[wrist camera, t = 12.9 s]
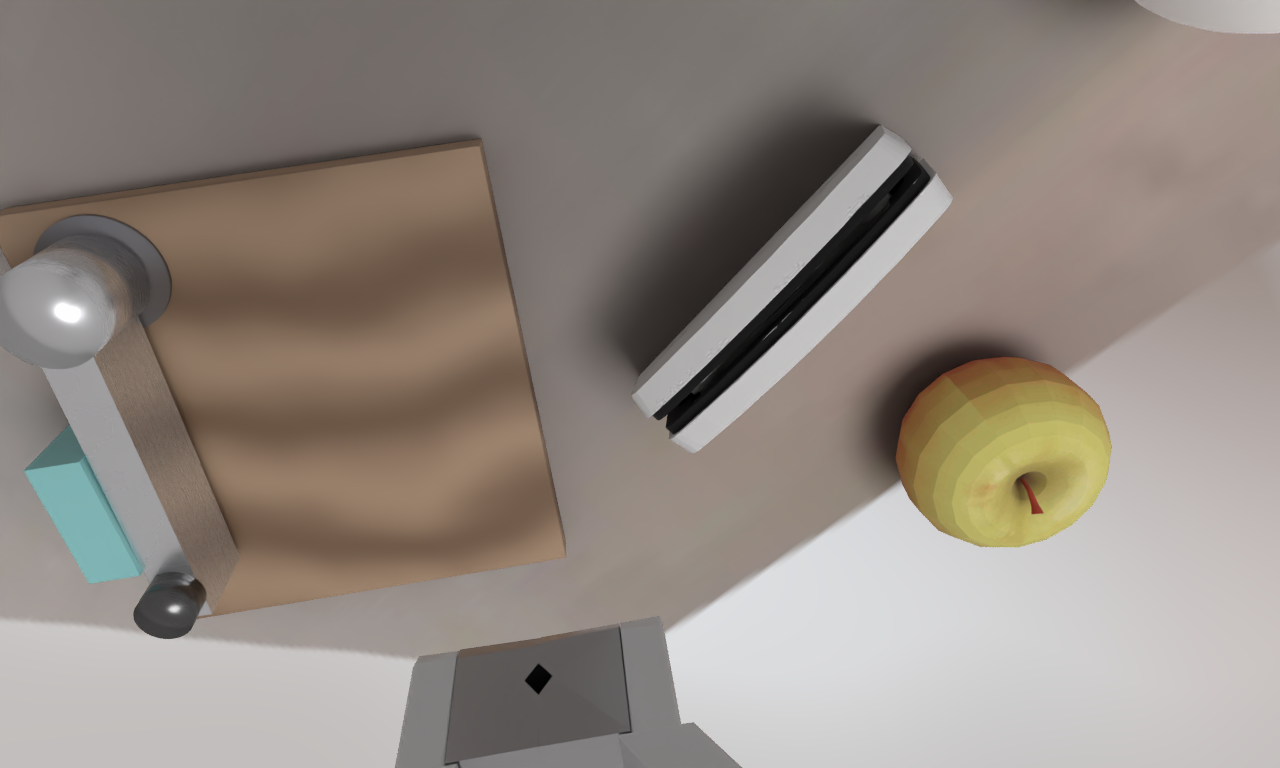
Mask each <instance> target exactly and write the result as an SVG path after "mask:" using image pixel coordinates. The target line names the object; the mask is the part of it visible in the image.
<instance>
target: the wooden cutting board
mask: <svg viewBox="0 0 1280 768" xmlns="http://www.w3.org/2000/svg"><path fill="white" fill-rule="evenodd" d="M76 234H93V235H99V236H102V237H106V238H108V239H111V240H113V241H115V242H117V243H119V244H120V245H122V246H123V247H125V248H126V249H127V250H129V251H130V252H131V253H132V254H133V255H134V256H135V257H136V258H137V259H138V261H139V262H140V263H141V265H142V266H143V268H144V270H145V272H146V274H147V277H148V280H149V284H150V296H149V300H148V303H147V305H146V307H145V309H144V310H143V311H142V313H141V314H139V315H138V316H139V319H140V321H141V323H142V326H143V328H144V330H145V333H146V335H147V338H148V340H149V342H150V345H151V347H152V349H153V352H154V354H155V357H156V359H157V361H158V364H159V366H160V368H161V371H162V373H163V376H164V378H165V380H166V383H167V385H168V387H169V390H170V392H171V395H172V397H173V399H174V402H175V404H176V406H177V409H178V411H179V414H180V416H181V418H182V421H183V423H184V425H185V428H186V430H187V433H188V435H189V437H190V440H191V442H192V444H193V447H194V449H195V452H196V454H197V456H198V459H199V461H200V463H201V466H202V468H203V471H204V473H205V475H206V478H207V480H208V482H209V485H210V487H211V490H212V492H213V494H214V497H215V499H216V501H217V504H218V506H219V509H220V511H221V513H222V516H223V518H224V520H225V523H226V525H227V528H228V530H229V532H230V535H231V537H232V539H233V542H234V544H235V547H236V549H237V551H238V554H239V556H240V559H239V561H238V563H237V565H236V567H235V569H234V571H233V573H232V575H231V577H230V579H229V581H228V583H227V585H226V587H225V589H224V591H223V593H222V595H221V597H220V599H219V601H218V603H217V605H216V607H215V609H214V611H213V613H212V614H210V615H203V616H198V617H197V619H199V618H205V617H211V616H217V615H223V614H229V613H235V612H241V611H247V610H253V609H259V608H265V607H271V606H277V605H283V604H289V603H295V602H301V601H307V600H313V599H319V598H325V597H331V596H337V595H343V594H349V593H356V592H362V591H368V590H374V589H380V588H386V587H392V586H398V585H404V584H410V583H416V582H422V581H428V580H434V579H440V578H446V577H452V576H458V575H464V574H470V573H476V572H482V571H488V570H494V569H500V568H506V567H513V566H519V565H525V564H531V563H537V562H543V561H549V560H555V559H561V558H566V542H565V536H564V531H563V526H562V521H561V517H560V512H559V507H558V502H557V497H556V493H555V488H554V483H553V478H552V474H551V469H550V464H549V459H548V454H547V450H546V445H545V440H544V435H543V431H542V426H541V421H540V416H539V411H538V407H537V402H536V397H535V392H534V387H533V383H532V378H531V373H530V368H529V364H528V359H527V354H526V349H525V344H524V340H523V335H522V330H521V325H520V321H519V316H518V311H517V306H516V301H515V297H514V292H513V287H512V282H511V278H510V273H509V268H508V263H507V258H506V254H505V249H504V244H503V239H502V234H501V230H500V225H499V220H498V215H497V211H496V206H495V201H494V196H493V191H492V187H491V182H490V177H489V172H488V168H487V163H486V158H485V153H484V148H483V144H482V139H475V140H469V141H462V142H455V143H448V144H441V145H434V146H427V147H421V148H414V149H407V150H400V151H393V152H386V153H380V154H373V155H366V156H359V157H352V158H345V159H338V160H332V161H325V162H318V163H311V164H304V165H297V166H291V167H284V168H277V169H270V170H263V171H256V172H249V173H243V174H236V175H229V176H222V177H215V178H208V179H202V180H195V181H188V182H181V183H174V184H167V185H160V186H154V187H147V188H140V189H133V190H126V191H119V192H113V193H106V194H99V195H92V196H85V197H78V198H71V199H65V200H58V201H51V202H44V203H37V204H30V205H24V206H17V207H10V208H6V209H4V210H2V211H0V247H1V249H2V251H3V253H4V255H5V257H6V259H7V261H8V263H9V264H10V266H11V268H12V269H13V268H14V267H16V266H18V265H19V264H21V263H23V262H24V261H26V260H28V259H29V258H31V257H33V256H34V255H36V254H37V253H39V252H41V251H42V250H44V249H46V248H47V247H49V246H51V245H52V244H54V243H56V242H57V241H59V240H61V239H63V238H65V237H68V236H71V235H76Z"/></svg>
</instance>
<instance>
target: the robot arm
mask: <svg viewBox="0 0 1280 768" xmlns="http://www.w3.org/2000/svg"><path fill="white" fill-rule="evenodd" d="M395 768H742V767H741V766H739V764H737V763H736V762H735V761H734V760H733V759H732V758H731V757H730V756H729V755H728V754H727V753H726V752H725V751H724V750H723V749H721V748H720V747H719V746H718V745H717V744H716V743H715V742H714V741H713V740H712V739H711V738H710V737H709V736H707V735H706V734H705V733H704V732H703V731H702V730H701V729H700V728H699V727H698V726H697V725H696V724H694V723H686V724H681V721H680V716H679V710H678V705H677V700H676V694H675V688H674V683H673V677H672V672H671V666H670V661H669V655H668V650H667V644H666V639H665V633H664V628H663V622H662V620H661V618H660V617H659V616H656V617H651V618H645V619H640V620H634V621H629V622H623V623H620V625H619V624H613V625H608V626H602V627H597V628H591V629H586V630H580V631H574V632H569V633H563V634H558V635H552V636H547V637H541V638H538V639H531V640H524V641H517V642H510V643H503V644H497V645H490V646H483V647H476V648H469V649H462V650H460V651H455V652H448V653H441V654H433V655H426V656H419V658H418V660H417V662H416V663H415V665H414V667H413V671H412V677H411V682H410V688H409V693H408V699H407V705H406V710H405V715H404V721H403V726H402V732H401V738H400V743H399V749H398V754H397V759H396V765H395Z"/></svg>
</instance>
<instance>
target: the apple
mask: <svg viewBox="0 0 1280 768" xmlns="http://www.w3.org/2000/svg"><path fill="white" fill-rule="evenodd" d="M1111 448H1112V446H1111V441H1110V437H1109V432H1108V429H1107V426H1106V423H1105V420H1104V418H1103V415H1102V413H1101V410H1100V407H1099V405H1098V404H1097V403H1096V402H1095V401H1094V400H1093V399H1092V398H1091V397H1090V396H1089V395H1088V394H1087V393H1086V392H1085V391H1084V390H1083V389H1081V388H1080V387H1079V386H1078V385H1077V384H1075V383H1074V382H1073V381H1072V380H1070V379H1069V378H1068V377H1067V376H1065V375H1064V374H1063V373H1061V372H1060V371H1058V370H1057V369H1055V368H1054V367H1052V366H1051V365H1048V364H1044V363H1040V362H1036V361H1031V360H1027V359H1023V358H1018V357H997V358H989V359H981V360H973V361H970V362H968V363H966V364H964V365H961V366H959V367H957V368H955V369H952V370H950V371H948V372H946V373H943V374H942V375H941V376H940V377H938V378H937V379H936V380H935V381H934V382H932V383H931V384H930V385H929V386H928V387H927V388H925V389H924V390H923V391H922V392H921V393H919V394H918V396H917V397H916V399H915V400H914V402H913V404H912V405H911V407H910V408H909V410H908V412H907V413H906V415H905V416H904V418H903V420H902V425H901V430H900V435H899V440H898V446H897V453H896V462H897V466H898V470H899V473H900V477H901V481H902V484H903V486H904V488H905V490H906V492H907V494H908V496H909V498H910V500H911V501H912V502H913V503H914V505H915V506H916V507H917V508H918V510H919V511H920V512H921V513H922V514H923V515H924V516H925V517H926V518H927V519H928V520H929V521H930V522H931V523H932V524H933V525H934V526H935V527H936V528H937V529H938V530H939V531H941V532H943V533H946V534H948V535H951V536H953V537H955V538H958V539H961V540H963V541H966V542H969V543H972V544H974V545H977V546H980V547H1021V546H1025V545H1028V544H1032V543H1035V542H1039V541H1043V540H1046V539H1048V538H1050V537H1051V536H1053V535H1055V534H1057V533H1059V532H1060V531H1062V530H1064V529H1066V528H1067V527H1069V526H1071V525H1072V524H1073V523H1074V522H1075V521H1077V519H1079V518H1080V517H1081V516H1082V515H1083V514H1084V513H1085V512H1086V511H1087V510H1088V509H1089V508H1090V507H1091V506H1092V505H1093V503H1094V502H1095V500H1096V498H1097V496H1098V494H1099V493H1100V491H1101V489H1102V487H1103V486H1104V484H1105V482H1106V478H1107V475H1108V469H1109V462H1110V455H1111Z"/></svg>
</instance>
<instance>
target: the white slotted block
mask: <svg viewBox="0 0 1280 768" xmlns="http://www.w3.org/2000/svg"><path fill="white" fill-rule="evenodd" d="M910 151H911V148H910V147H909V145H908V144H907V143H906V142H905V141H904V140H903V138H901V137H900V136H898V135H896V134H895V133H893V132H892V131H890V130H888V129H887V128H885V127H883V126H882V125H879V126H878V127H877V128H876V129H875V130H874V131H873V132H872V133H871V134H870V135H869V136H868V137H867V139H866V140H865V141H864V142H863V143H862V144H861V145H860V146H859V147H858V148H857V149H856V150H855V151H854V152H853V153H852V154H851V155H850V156H849V157H848V158H847V159H846V160H845V161H844V162H843V164H842V165H841V166H840V167H839V168H838V169H837V170H836V171H835V172H834V173H833V174H832V175H831V176H830V177H829V178H828V179H827V180H826V181H825V182H824V183H823V184H822V185H821V186H820V188H819V189H818V190H817V191H816V192H815V193H814V194H813V195H812V196H811V197H810V198H809V199H808V200H807V201H806V202H805V203H804V204H803V205H802V206H801V207H800V208H799V209H798V210H797V212H796V213H795V214H794V215H793V216H792V217H791V218H790V219H789V220H788V221H787V222H786V223H785V224H784V225H783V226H782V227H781V228H780V229H779V230H778V231H777V232H776V233H775V234H774V235H773V237H772V238H771V239H770V240H769V241H768V242H767V243H766V244H765V245H764V246H763V247H762V248H761V249H760V250H759V251H758V252H757V253H756V254H755V255H754V256H753V257H752V258H751V259H750V261H749V262H748V263H747V264H746V265H745V266H744V267H743V268H742V269H741V270H740V271H739V272H738V273H737V274H736V275H735V276H734V277H733V278H732V279H731V280H730V281H729V282H728V283H727V284H726V286H725V287H724V288H723V289H722V290H721V291H720V292H719V293H718V294H717V295H716V296H715V297H714V298H713V299H712V300H711V301H710V302H709V303H708V304H707V305H706V306H705V307H704V308H703V310H702V311H701V312H700V313H699V314H698V315H697V316H696V317H695V318H694V319H693V320H692V321H691V322H690V323H689V324H688V325H687V326H686V327H685V328H684V329H683V330H682V331H681V332H680V333H679V335H678V336H677V337H676V338H675V339H674V340H673V341H672V342H671V343H670V344H669V345H668V346H667V347H666V348H665V349H664V350H663V351H662V352H661V353H660V354H659V355H658V356H657V357H656V359H655V360H654V361H653V362H652V363H651V364H650V365H649V366H648V367H647V368H646V369H645V370H644V371H643V372H642V373H641V374H640V375H639V378H638V380H637V382H636V385H635V387H634V390H633V392H632V395H631V397H632V399H633V400H634V401H635V403H636V404H637V406H638V407H639V408H640V410H641V411H642V413H643V414H644V415H645V417H646V418H649V417H650V416H652V415H653V416H654V417H655V418H656V419H657V420H660V419H662V418H663V417H665V416H666V415H667V414H668V416H667V423H666V428H667V429H668V430H669V431H670V434H669V439H670V440H671V441H673V442H674V443H676V444H677V445H679V446H681V447H682V448H684V449H685V450H687V451H689V452H690V453H695V452H697V451H698V450H700V449H701V448H702V447H704V446H705V445H706V444H707V443H708V442H710V441H711V440H712V439H713V438H714V437H716V436H717V435H718V434H719V433H720V432H721V431H723V430H724V429H725V428H726V427H727V426H728V425H730V424H731V423H732V422H733V421H734V420H735V419H737V418H738V417H739V416H740V415H741V414H742V413H743V412H745V411H746V410H747V409H748V408H749V407H750V406H751V405H752V404H753V403H755V402H756V401H757V400H758V399H759V398H760V397H761V396H762V395H763V394H764V393H766V392H767V391H768V390H769V389H770V388H771V387H772V386H773V385H774V384H775V383H777V382H778V381H779V380H780V379H781V378H782V377H783V376H784V375H785V374H786V373H787V372H789V371H790V370H791V369H792V368H793V367H794V366H795V365H796V364H797V363H798V362H799V361H800V360H801V359H802V358H803V357H804V356H806V355H807V354H808V353H809V352H810V351H811V350H812V349H813V348H814V347H815V346H816V345H817V344H818V343H819V342H820V341H821V340H822V339H823V338H824V337H825V336H826V335H827V334H828V333H829V332H830V331H831V330H832V329H833V328H834V327H835V326H836V325H837V324H838V323H839V322H840V321H841V320H842V319H843V318H844V317H845V316H846V315H847V314H848V313H849V312H850V311H851V310H852V309H853V308H854V307H855V306H856V305H857V304H858V303H859V302H860V301H861V300H862V299H863V298H864V297H865V296H866V295H867V294H868V293H869V292H870V291H871V290H872V289H873V288H874V287H875V286H876V285H877V284H878V283H879V281H880V280H881V279H882V278H883V277H884V276H885V275H886V274H887V273H888V272H889V271H890V270H891V269H892V268H893V267H894V266H895V265H896V264H897V263H898V262H899V261H900V260H901V259H902V257H903V256H904V255H905V254H906V253H907V252H908V251H909V250H910V249H911V248H912V247H913V246H914V244H915V243H916V242H917V241H918V240H919V239H920V238H921V237H922V236H923V235H924V234H925V232H926V231H927V230H928V229H929V228H930V227H931V226H932V225H933V224H934V223H935V221H936V220H937V219H938V218H939V217H940V216H941V215H942V214H943V213H944V212H945V210H946V209H947V208H948V207H949V205H950V204H951V202H952V200H953V198H952V196H951V195H950V193H949V192H948V190H947V189H946V187H945V186H944V184H943V183H942V181H941V180H940V178H939V177H938V175H937V174H936V172H935V171H934V170H933V169H932V168H931V167H930V166H929V164H928V163H927V162H926V161H925V160H924V159H922V160H921V161H920V162H919V163H918V162H917V161H916V160H915V159H914V158H913V157H912V158H910V156H909V155H908V154H909V152H910ZM888 192H889V193H888ZM887 193H888V194H887ZM805 280H806V281H805ZM804 281H805V282H804ZM803 282H804V283H803ZM802 283H803V284H802ZM801 284H802V285H801ZM800 285H801V286H800ZM799 286H800V287H799ZM798 287H799V288H798ZM797 288H798V289H797ZM796 289H797V290H796ZM795 290H796V291H795ZM794 291H795V292H794ZM793 292H794V293H793Z"/></svg>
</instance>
